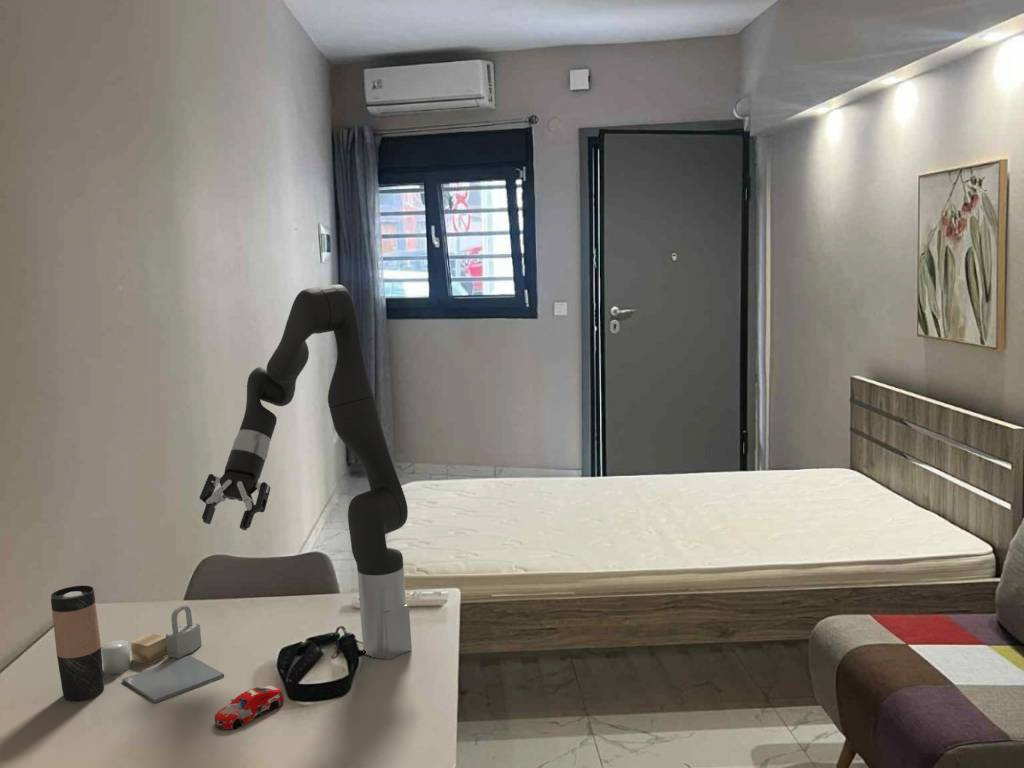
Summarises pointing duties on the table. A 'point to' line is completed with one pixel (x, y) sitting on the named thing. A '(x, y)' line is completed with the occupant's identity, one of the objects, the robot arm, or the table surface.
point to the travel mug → (77, 642)
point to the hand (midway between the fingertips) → (224, 526)
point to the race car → (249, 707)
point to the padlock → (183, 635)
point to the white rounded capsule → (115, 657)
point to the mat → (172, 678)
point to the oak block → (149, 648)
